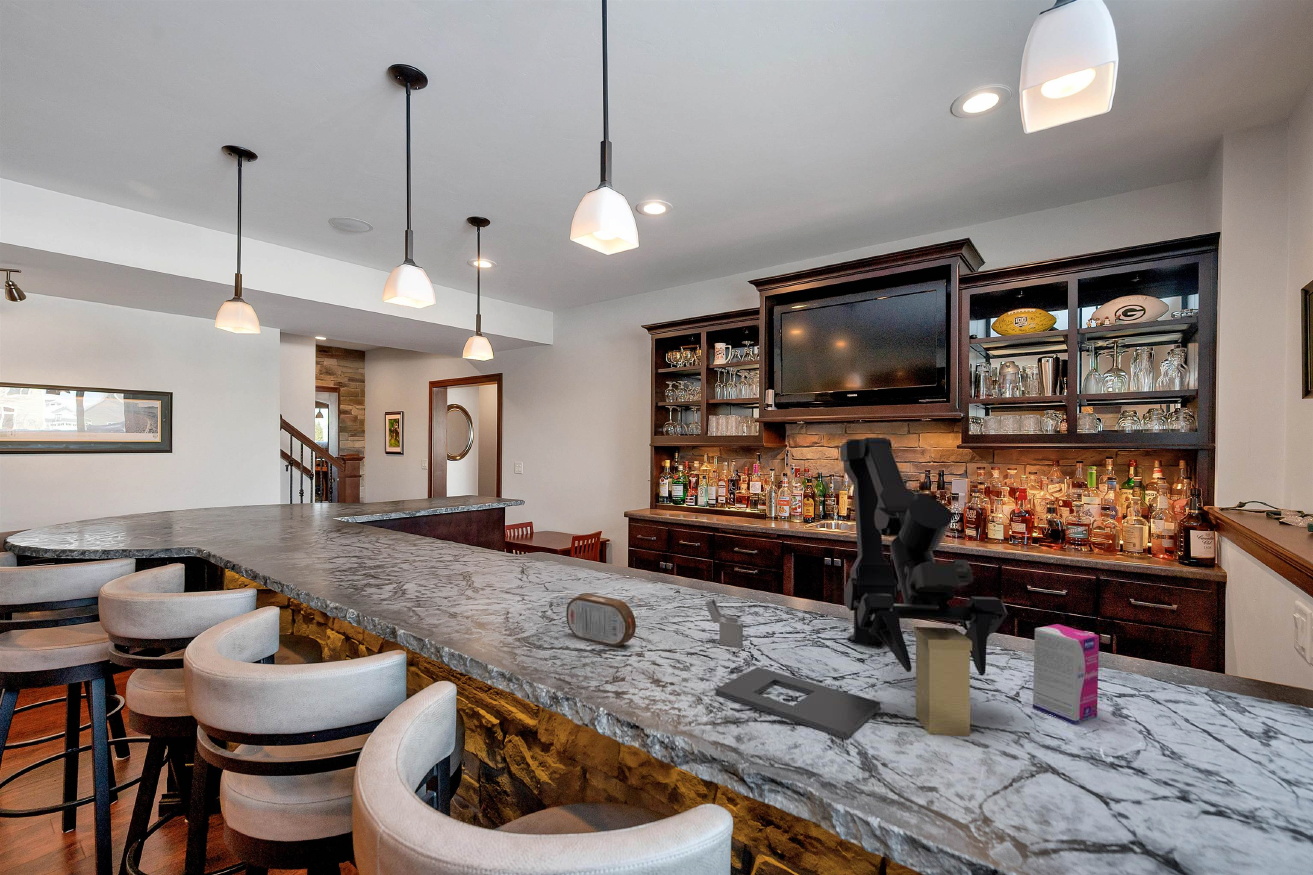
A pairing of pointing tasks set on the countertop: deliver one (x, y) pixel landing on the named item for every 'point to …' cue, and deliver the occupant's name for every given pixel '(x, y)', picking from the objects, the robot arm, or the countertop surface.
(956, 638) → the tan square peg
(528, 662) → the countertop surface
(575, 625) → the tin
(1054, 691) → the supplement box
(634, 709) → the countertop surface
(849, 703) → the grey plate with hole
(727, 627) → the lighter
